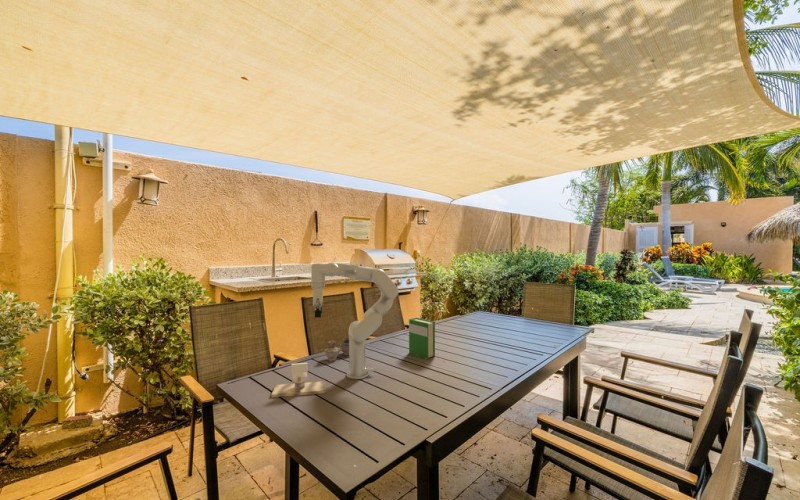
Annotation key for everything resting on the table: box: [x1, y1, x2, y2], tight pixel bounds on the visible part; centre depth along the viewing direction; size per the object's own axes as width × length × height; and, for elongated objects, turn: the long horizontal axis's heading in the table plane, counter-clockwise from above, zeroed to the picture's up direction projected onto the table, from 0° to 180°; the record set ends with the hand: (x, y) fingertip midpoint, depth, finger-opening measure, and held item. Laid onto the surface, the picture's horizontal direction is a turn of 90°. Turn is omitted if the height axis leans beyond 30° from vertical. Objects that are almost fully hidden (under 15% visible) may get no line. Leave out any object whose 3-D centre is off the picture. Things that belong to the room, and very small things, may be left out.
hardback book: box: [408, 317, 436, 360], centre depth 235 cm, size 18×7×24 cm, turn 42°
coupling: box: [291, 362, 309, 384], centre depth 177 cm, size 9×8×9 cm
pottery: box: [324, 337, 349, 362], centre depth 232 cm, size 11×25×12 cm, turn 144°
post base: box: [270, 380, 326, 398], centre depth 178 cm, size 26×12×5 cm, turn 101°
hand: (318, 315), depth 192 cm, fingers open, 9 cm apart
